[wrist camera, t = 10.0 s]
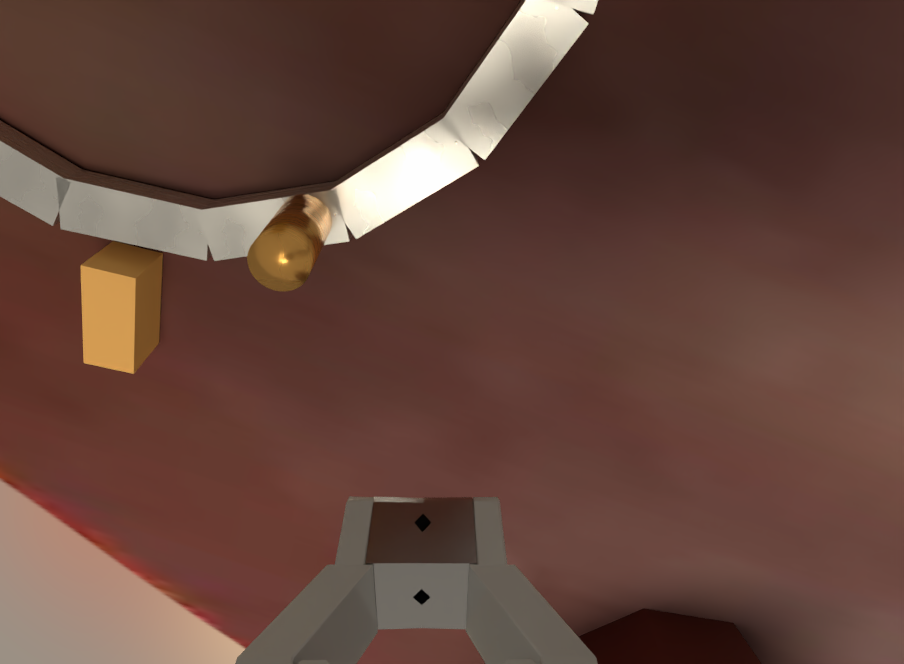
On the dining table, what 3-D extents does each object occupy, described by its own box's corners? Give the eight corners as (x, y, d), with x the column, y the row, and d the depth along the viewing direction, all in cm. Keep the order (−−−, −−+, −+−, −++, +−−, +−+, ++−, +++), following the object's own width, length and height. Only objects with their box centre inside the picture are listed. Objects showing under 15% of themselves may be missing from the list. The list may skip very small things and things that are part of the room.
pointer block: (113, 240, 29) (80, 265, 27) (162, 253, 30) (135, 278, 27) (113, 332, 32) (83, 363, 29) (159, 342, 32) (133, 373, 30)
